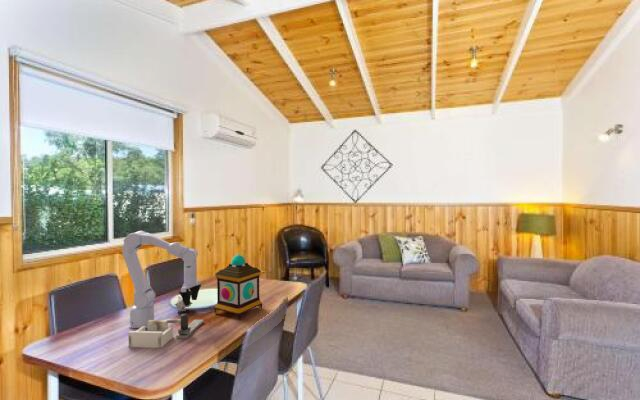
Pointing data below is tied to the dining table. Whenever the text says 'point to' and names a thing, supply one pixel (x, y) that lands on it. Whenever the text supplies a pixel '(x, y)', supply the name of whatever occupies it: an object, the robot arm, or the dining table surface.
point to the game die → (181, 304)
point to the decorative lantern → (238, 287)
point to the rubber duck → (153, 327)
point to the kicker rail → (193, 325)
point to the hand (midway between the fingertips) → (190, 302)
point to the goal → (149, 338)
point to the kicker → (163, 324)
